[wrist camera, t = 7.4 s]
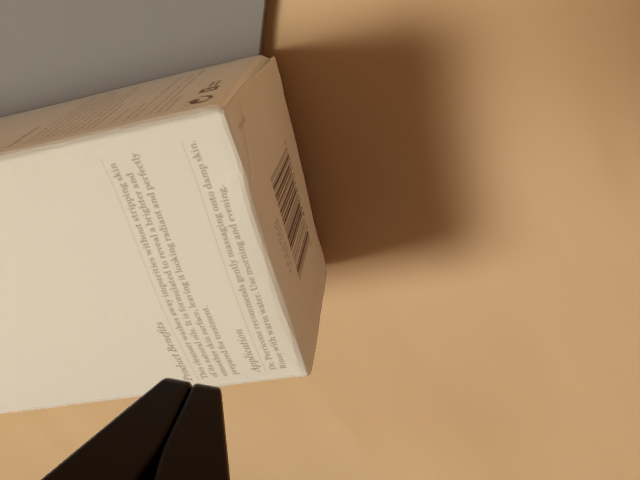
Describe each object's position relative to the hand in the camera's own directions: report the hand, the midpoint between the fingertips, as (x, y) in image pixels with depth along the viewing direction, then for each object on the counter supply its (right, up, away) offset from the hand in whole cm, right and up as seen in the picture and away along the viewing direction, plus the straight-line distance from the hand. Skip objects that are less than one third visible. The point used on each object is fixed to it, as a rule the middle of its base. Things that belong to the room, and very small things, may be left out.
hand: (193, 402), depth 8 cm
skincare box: (+1, +3, +8) cm, 9 cm away
